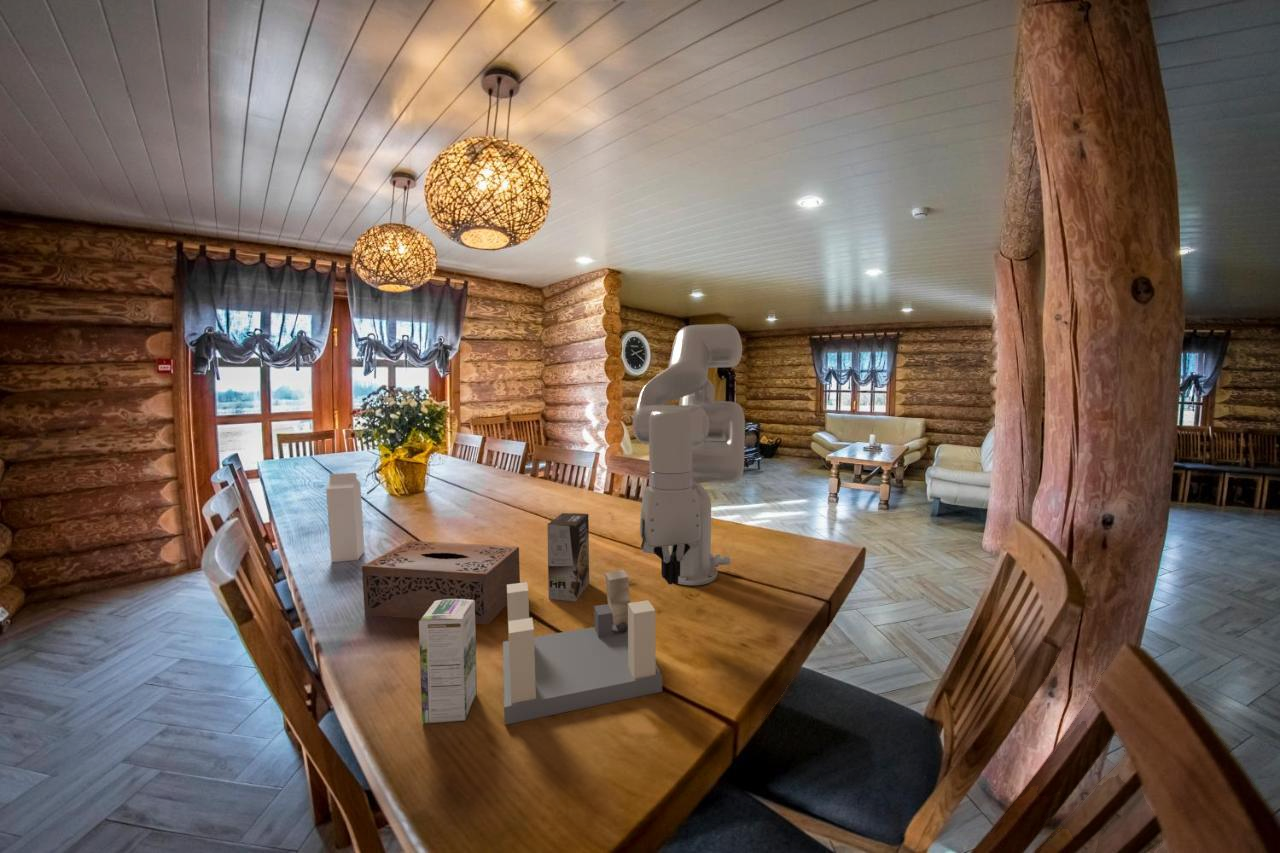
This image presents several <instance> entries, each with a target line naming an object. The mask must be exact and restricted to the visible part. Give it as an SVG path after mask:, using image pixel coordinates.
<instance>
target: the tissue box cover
mask: <svg viewBox="0 0 1280 853" xmlns="http://www.w3.org/2000/svg"><path fill="white" fill-rule="evenodd" d="M520 570H521V569H520V547H519V546H516V545H515V546H511V545H495V544H492V545H491V544H475V543H473V544H472V543H456V542H455V543H453V542H437V541H436V542H435V541H421V540H420V541H419V540H409V541H407V542H405V543H403V544H401V545H400V546H398V547H396V548H393V549H392V550H389V551H388V552H386V553H384V554H381V555H380V556H378V557H377V558H374V559H373V560H370V561H368V562H367V563H365V564H362V565H361V576H362V577H361V578H362V590H363V594H362V595H363V605H364V606H363V608H364V615H367V616H368V615H370V616H380V617H381V616H382V617H392V618H393V617H394V618H404V619H405V618H407V619H418V620H421V618H422V617H423V616H424V615H425V613H426V612H427V611H428V609H429V608H430V607H431V605H432V604H433V603H434V601H437V600H444V599H469V600H475V625H476V624H477V625H487V626H488V625H489V624H491V622H492V621H493V620H494V619H495V618H496V617H497V616H498V615H499V614H500V613H501V612H502V610H503V609H504V608H505V607H507V585H508V584H516V583H521V574H520Z"/></svg>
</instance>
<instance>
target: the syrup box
mask: <svg viewBox="0 0 1280 853" xmlns="http://www.w3.org/2000/svg"><path fill="white" fill-rule="evenodd" d="M418 633H419V634H418V635H419V640H418V641H419V665H420V666H419V669H420V700H421V722H422V723H423V724H434V723H435V724H437V723H451V722H460V721H461V722H462V721H463V722H464V721H466V720H467V719H468V718H467V717H468V715H469V713H470V710H471V708H472V704H473V702H474V701H475V697H476V695H477V694H478V692H477V690H478V689H477V688H478V686H477V684H478V683H477V645H476V643H477V641H476V640H477V638H476V624H475V600H469V599H444V600H437V601H434V603H433V604H432V605H431V607H430V608H429V609H428V611H427V612H426V613H425V615H424V616H423V617H422V618H421V619H419V621H418Z"/></svg>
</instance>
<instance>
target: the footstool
mask: <svg viewBox="0 0 1280 853" xmlns="http://www.w3.org/2000/svg"><path fill="white" fill-rule="evenodd" d="M529 598H530V597H529V586H528V582H527V581H525V582H520V583H516V584H508V585H507V605H506V607H507V627H508V628H507V630H508V633H507V634H508V636H507V637H508V640H507V641H502V650H503V651H502V652H503V653H502V657H503V658H502V659H503V672H502V673H503V712H504V714H503V715H504V726H506V725H511V724H516V723H520V722H525V721H526V722H527V721H530V720H535V719H540V718H543V717H545V718H546V717H549V716H553V715H558V714H563V713H567V712H572V711H577V710H582V709H586V708H591V707H595V706H596V707H597V706H600V705H606V704H610V703H615V702H618V701H619V702H620V701H624V700H629V699H634V698H639V697H643V696H648V695H653V694H658V693H662V692H663V674H662V673H661V671H660V669H659V667H658V665H657V663H656V609H655V607H654V606H653V605H652V603H651V602H650V600H647V599H646V600H640V601H634V602H630V603H628V623H627V624H628V630H627V631H626V632H624V633H621V632H619V631H618V629H617V626H616V625H615V626H613V624H612V611H611V609H610V607H609V605H608V603H607V604H600V605H594V608H593V609H594V610H593V611H594V612H593V613H594V614H593V615H594V627H588V628H587V627H586V628H580V629H574V630H567V631H561V632H555V633H549V634H544V635H537V636H536V635H535V627H534V621H533V617H530V606H529V605H530V604H529V603H530V600H529Z"/></svg>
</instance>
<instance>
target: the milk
mask: <svg viewBox="0 0 1280 853" xmlns="http://www.w3.org/2000/svg"><path fill="white" fill-rule="evenodd" d="M325 490H326V491H325V493H326V504H327V506H326V507H327V517H328V518H327V520H328V531H329V535H328V536H329V545H330V546H329V547H330V560H331V563H338V562H348V561H349V562H350V561H358V560H359V559H360V558H361V557H362V556H363V554H364V553H365V552H366V550H365V537H364V536H365V534H364V523H363V522H364V520H363V506H362V492H361V491H362V490H361V482H360V481H359V479H358V478H357V473H355V472H348V473H346V472H345V473H331V474H329V480H328V484H327V486H326V488H325Z"/></svg>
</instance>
